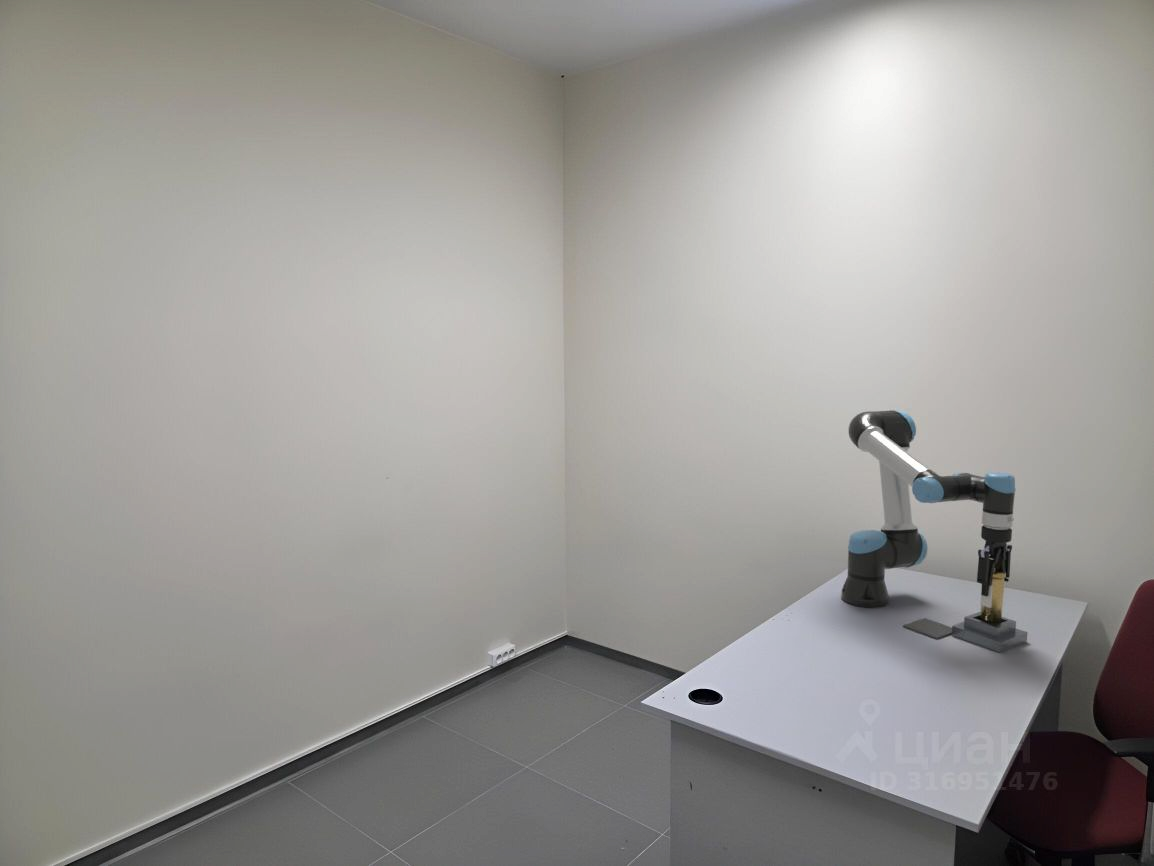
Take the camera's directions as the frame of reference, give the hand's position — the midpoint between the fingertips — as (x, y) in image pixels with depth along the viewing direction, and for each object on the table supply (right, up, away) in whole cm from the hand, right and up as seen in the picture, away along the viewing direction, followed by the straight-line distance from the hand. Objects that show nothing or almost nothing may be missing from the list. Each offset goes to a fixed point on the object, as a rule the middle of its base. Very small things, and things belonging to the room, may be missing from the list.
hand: (991, 603), depth 202 cm
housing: (0, -11, +1) cm, 11 cm away
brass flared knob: (0, -4, 0) cm, 4 cm away
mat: (-14, -10, +8) cm, 19 cm away
